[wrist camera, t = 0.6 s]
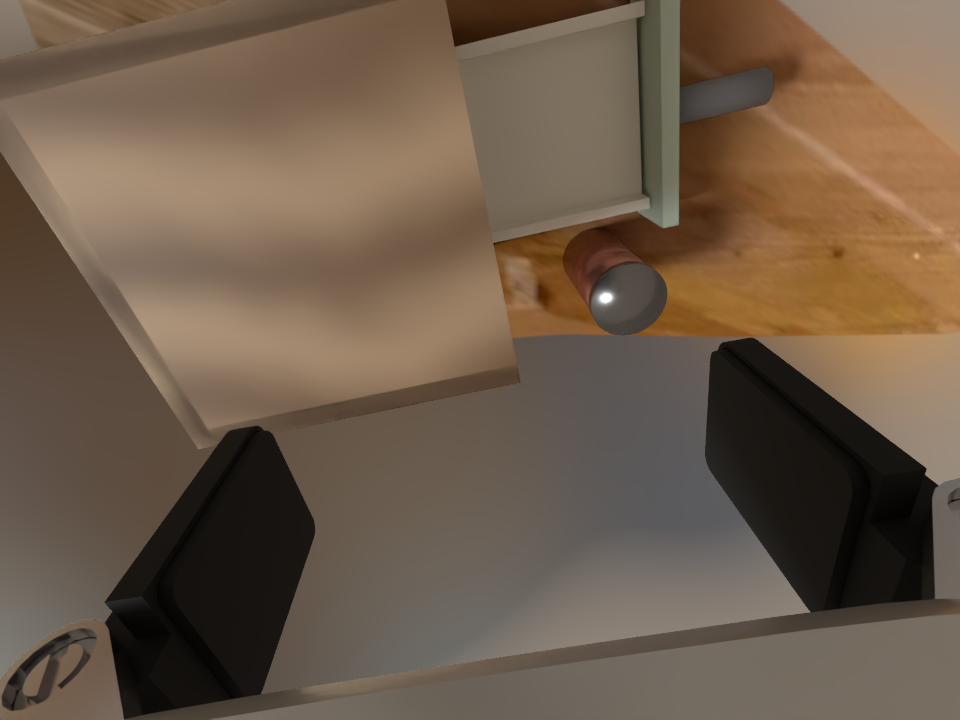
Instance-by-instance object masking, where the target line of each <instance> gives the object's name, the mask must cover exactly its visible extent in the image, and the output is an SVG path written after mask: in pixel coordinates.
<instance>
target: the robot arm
mask: <svg viewBox="0 0 960 720" xmlns="http://www.w3.org/2000/svg"><path fill="white" fill-rule="evenodd" d="M705 457H706V462H707V465H708V467H709V469H710V471H711V473H712V474H713V475H714V477H715V478H716V480H717V481H718V482H719V484H720V485H721V487H722V488H723V490H724V491H725V492H726V494H727V495H728V497H729V498H730V500H731V501H732V502H733V504H734V505H735V507H736V508H737V509H738V511H739V512H740V514H741V515H742V516H743V518H744V519H745V521H746V522H747V524H748V525H749V526H750V527H751V529H752V531H753V532H754V533H755V535H756V536H757V538H758V539H759V541H760V542H761V543H762V545H763V546H764V548H765V549H766V550H767V552H768V553H769V554H770V556H771V557H772V559H773V560H774V562H775V563H776V564H777V566H778V567H779V569H780V570H781V572H782V573H783V574H784V576H785V577H786V579H787V580H788V581H789V583H790V584H791V586H792V587H793V589H794V590H795V591H796V593H797V594H798V596H799V597H800V598H801V599H802V601H803V603H804V604H805V606H806V607H807V608H808V609H809V610H810V612H811V613H803V614H795V615H787V616H779V617H772V618H764V619H757V620H750V621H744V622H737V623H730V624H724V625H716V626H709V627H703V628H696V629H690V630H682V631H675V632H668V633H661V634H654V635H647V636H640V637H633V638H627V639H620V640H613V641H607V642H599V643H593V644H586V645H579V646H572V647H566V648H560V649H552V650H546V651H539V652H533V653H526V654H520V655H513V656H506V657H499V658H493V659H486V660H480V661H473V662H467V663H460V664H453V665H447V666H440V667H434V668H427V669H420V670H414V671H407V672H401V673H394V674H388V675H382V676H375V677H369V678H363V679H356V680H350V681H343V682H337V683H331V684H324V685H319V686H311V687H305V688H299V689H293V690H286V691H280V692H274V693H267V694H261V692H262V690H263V687H264V684H265V680H266V678H267V675H268V672H269V669H270V666H271V663H272V660H273V657H274V654H275V651H276V648H277V645H278V642H279V639H280V636H281V634H282V630H283V628H284V624H285V621H286V619H287V616H288V613H289V610H290V607H291V604H292V601H293V598H294V595H295V592H296V589H297V586H298V583H299V580H300V577H301V574H302V571H303V568H304V565H305V562H306V559H307V556H308V554H309V551H310V548H311V545H312V542H313V539H314V535H315V524H314V520H313V517H312V515H311V513H310V511H309V509H308V507H307V505H306V503H305V501H304V499H303V496H302V495H301V492H300V490H299V488H298V486H297V484H296V482H295V480H294V478H293V476H292V474H291V471H290V470H289V467H288V466H287V463H286V461H285V459H284V457H283V455H282V453H281V451H280V449H279V447H278V445H277V442H276V440H275V438H274V436H273V435H272V433H271V432H270V431H267V430H266V431H264V429H263V428H261V427H260V426H257V425H256V426H251V427H245V428H239V429H234V430H230V431H228V432H227V433H226V435H225V436H224V437H223V439H222V440H221V441H220V443H219V444H218V446H217V447H216V448H215V450H214V451H213V453H212V454H211V455H210V457H209V458H208V460H207V461H206V462H205V464H204V465H203V467H202V468H201V469H200V471H199V472H198V473H197V475H196V477H195V478H194V479H193V480H192V482H191V483H190V485H189V486H188V487H187V489H186V490H185V491H184V493H183V494H182V496H181V497H180V498H179V500H178V501H177V503H176V504H175V506H174V507H173V508H172V510H171V511H170V512H169V514H168V515H167V516H166V518H165V519H164V521H163V522H162V523H161V525H160V526H159V527H158V529H157V530H156V532H155V533H154V535H153V536H152V537H151V539H150V540H149V541H148V543H147V544H146V546H145V547H144V548H143V550H142V551H141V553H140V554H139V555H138V557H137V558H136V559H135V561H134V562H133V564H132V565H131V566H130V568H129V569H128V571H127V572H126V573H125V575H124V576H123V577H122V579H121V580H120V582H119V583H118V585H117V586H116V587H115V589H114V590H113V591H112V593H111V594H110V596H109V597H108V598H107V600H106V601H105V603H106V605H107V606H108V607H109V608H110V609H111V610H112V611H113V612H112V613H111V615H110V616H109V618H108V619H107V621H106V622H103V621H100V620H98V619H86V620H81V621H77V622H75V623H72V624H69V625H66V626H64V627H63V628H61V629H59V630H57V631H55V632H53V633H51V634H49V635H48V636H47V637H45V638H44V639H42V640H41V641H40V642H38V643H37V644H36V645H34V646H32V647H31V648H30V649H29V650H28V651H27V652H26V653H25V654H23V655H22V656H21V657H20V658H19V659H18V660H17V661H16V662H15V663H14V664H13V665H12V666H11V667H10V668H9V670H8V671H7V672H6V673H5V674H4V675H3V677H2V678H1V679H0V720H960V478H959V479H955V480H950V481H946V482H944V483H942V484H941V485H939V486H938V485H937V484H936V483H935V482H933V481H932V480H931V479H929V478H928V477H927V476H926V475H925V472H926V468H925V467H924V466H923V465H921V464H920V463H919V462H917V461H916V460H915V459H913V458H912V457H911V456H909V455H908V454H907V453H905V452H904V451H903V450H902V449H900V448H899V447H898V446H896V445H895V444H894V443H892V442H891V441H889V440H888V439H887V438H886V437H884V436H883V435H882V434H880V433H879V432H878V431H876V430H875V429H874V428H872V427H871V426H870V425H868V424H867V423H866V422H865V421H863V420H862V419H861V418H859V417H858V416H856V415H855V414H854V413H853V412H851V411H850V410H849V409H847V408H846V407H845V406H843V405H842V404H841V403H839V402H838V401H837V400H835V399H834V398H833V397H831V396H830V395H829V394H827V393H826V392H825V391H824V390H822V389H821V388H820V387H818V386H817V385H816V384H814V383H813V382H812V381H810V380H809V379H807V378H806V377H805V376H804V375H802V374H801V373H800V372H799V371H797V370H796V369H794V368H793V367H792V366H791V365H789V364H788V363H786V362H785V361H784V360H783V359H781V358H780V357H779V356H777V355H776V354H774V353H773V352H772V351H771V350H769V349H768V348H767V347H765V346H764V345H763V344H761V343H760V342H759V341H758V340H756V339H754V338H745V339H740V340H735V341H728V342H723V343H721V345H720V346H719V349H718V351H714V352H712V354H711V358H710V375H709V392H708V411H707V429H706V446H705Z"/></svg>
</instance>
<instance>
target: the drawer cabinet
mask: <svg viewBox="0 0 960 720" xmlns="http://www.w3.org/2000/svg"><path fill="white" fill-rule="evenodd" d="M0 152H1V153H2V155H3V156H4V158H5V159H6V161H7V162H8V164H9V165H10V167H11V168H12V170H13V171H14V173H15V174H16V176H17V177H18V179H19V180H20V182H21V183H22V185H23V186H24V188H25V189H26V191H27V192H28V194H29V195H30V196H31V198H32V200H33V201H34V203H35V204H36V206H37V207H38V209H39V210H40V212H41V213H42V215H43V216H44V218H45V219H46V221H47V222H48V224H49V225H50V227H51V228H52V230H53V231H54V233H55V234H56V236H57V237H58V239H59V240H60V242H61V243H62V245H63V246H64V248H65V249H66V251H67V252H68V254H69V255H70V257H71V258H72V260H73V261H74V263H75V264H76V266H77V267H78V269H79V270H80V272H81V273H82V275H83V276H84V278H85V279H86V281H87V282H88V284H89V285H90V287H91V288H92V290H93V291H94V293H95V294H96V296H97V297H98V299H99V300H100V302H101V303H102V305H103V306H104V308H105V309H106V311H107V312H108V314H109V315H110V317H111V318H112V320H113V321H114V323H115V324H116V326H117V328H118V329H119V331H120V332H121V333H122V335H123V336H124V338H125V340H126V341H127V343H128V344H129V346H130V347H131V349H132V350H133V351H134V353H135V355H136V356H137V358H138V359H139V360H140V362H141V363H142V365H143V367H144V368H145V369H146V371H147V373H148V374H149V375H150V377H151V379H152V380H153V381H154V383H155V385H156V386H157V388H158V389H159V391H160V392H161V394H162V395H163V397H164V398H165V400H166V401H167V403H168V404H169V406H170V407H171V409H172V410H173V412H174V413H175V415H176V416H177V418H178V419H179V421H180V422H181V424H182V425H183V427H184V428H185V430H186V431H187V432H188V434H189V436H190V437H191V439H192V440H193V442H194V443H195V445H196V446H197V448H198V449H201V448H206V447H211V446H215V445H218V444H219V443H220V441H221V440H222V439H223V437H224V436H225V435H226V433H227V432H228V431H230V430H234V429H239V428H245V427H251V426H256V425H257V426H260V427H261V428H263V429H264V431H266V430H267V431H270V432H271V433H272V434H274V433H279V432H283V431H288V430H293V429H298V428H303V427H307V426H313V425H317V424H322V423H327V422H332V421H337V420H342V419H346V418H351V417H356V416H361V415H366V414H371V413H375V412H380V411H385V410H390V409H395V408H400V407H404V406H409V405H414V404H418V403H424V402H428V401H433V400H438V399H443V398H448V397H453V396H458V395H462V394H467V393H472V392H477V391H482V390H486V389H491V388H496V387H501V386H506V385H511V384H516V383H520V377H519V372H518V367H517V362H516V357H515V352H514V346H513V342H512V336H511V331H510V326H509V321H508V316H507V311H506V306H505V301H504V295H503V290H502V285H501V280H500V275H499V270H498V265H497V260H496V255H495V250H494V244H493V239H492V234H491V229H490V224H489V219H488V214H487V209H486V204H485V199H484V194H483V188H482V183H481V178H480V173H479V168H478V163H477V158H476V153H475V148H474V143H473V137H472V132H471V127H470V122H469V117H468V112H467V107H466V102H465V97H464V92H463V86H462V81H461V76H460V71H459V66H458V61H457V56H456V51H455V46H454V41H453V35H452V30H451V25H450V20H449V15H448V10H447V5H446V0H230V1H226V2H222V3H218V4H214V5H210V6H206V7H203V8H199V9H195V10H191V11H187V12H183V13H179V14H175V15H172V16H168V17H164V18H160V19H156V20H152V21H148V22H144V23H140V24H137V25H133V26H129V27H125V28H121V29H117V30H113V31H109V32H106V33H102V34H98V35H94V36H90V37H86V38H82V39H78V40H75V41H71V42H67V43H63V44H59V45H55V46H51V47H47V48H43V49H40V50H36V51H32V52H28V53H24V54H20V55H16V56H13V57H9V58H5V59H1V60H0Z"/></svg>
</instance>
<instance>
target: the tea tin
mask: <svg viewBox="0 0 960 720" xmlns="http://www.w3.org/2000/svg"><path fill="white" fill-rule="evenodd" d="M563 265H564V269H565V272H566V274H567V275H568V277H569V278H570V280H571V281H572V283H573V285H574V286H575V288H576V289H577V291H578V292H579V294H580V295H581V297H582V299H583V300H584V302H585V303H586V305H587V306H588V308H589V309H590V312H591V315H592V316H593V318H594V320H595V321H596V323H597V324H598V325H599V326H600V327H601V328H602V329H603V330H605V331H606V332H608V333H611V334H614V335H631V334H635V333H638V332H640V331H642V330H644V329H646V328H647V327H649V326H650V325H651V324H653V323H654V322H655V321H656V320H657V318H658V317H659V316H660V314H661V313H662V311H663V309H664V307H665V304H666V300H667V287H666V284H665V281H664V279H663V278H662V276H661V275H660V274H659V273H658V272H657V271H656V270H654V269H653V268H652V267H651V266H649V265H647V264H645V263H644V262H643V261H642V260H641V259H640V258H639V257H637V256H636V255H635V254H634V253H633V252H632V251H631V250H629V249H628V248H627V247H626V246H625V245H624V244H623V243H621V242H620V241H619V240H618V239H617V238H616V237H615V236H613V235H612V234H611V233H609V232H608V231H605V230H602V229H589V230H585V231H583V232H581V233H579V234H578V235H576V236H575V237H574V238H573V239H572V240H571V241H570V242H569V244H568V245H567V247H566V249H565V252H564V256H563Z"/></svg>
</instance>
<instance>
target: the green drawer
mask: <svg viewBox="0 0 960 720" xmlns="http://www.w3.org/2000/svg"><path fill="white" fill-rule="evenodd" d="M455 51H456V56H457V61H458V66H459V71H460V76H461V81H462V86H463V92H464V97H465V102H466V107H467V112H468V117H469V122H470V127H471V132H472V137H473V143H474V148H475V153H476V158H477V163H478V168H479V173H480V178H481V183H482V188H483V194H484V199H485V204H486V209H487V214H488V219H489V224H490V229H491V234H492V239H493V243H496V242H500V241H505V240H509V239H514V238H518V237H523V236H527V235H532V234H536V233H541V232H545V231H550V230H554V229H558V228H563V227H567V226H572V225H576V224H581V223H585V222H590V221H594V220H599V219H603V218H608V217H612V216H617V215H621V214H626V213H630V212H635V211H638V213H640V214H641V215H643V216H644V217H646V218H648V219H649V220H651V221H652V222H654V223H655V224H657V225H658V226H660V227H662V228H667V227H671V226H676V225H679V124H683V123H687V122H692V121H696V120H700V119H705V118H709V117H713V116H718V115H722V114H726V113H730V112H735V111H739V110H743V109H748V108H752V107H756V106H761V105H765V104H766V103H767V102H768V101H769V100H770V98H771V96H772V93H773V89H774V76H773V73H772V71H771V69H770V68H769V67H761V68H757V69H753V70H749V71H744V72H740V73H736V74H732V75H727V76H723V77H719V78H715V79H710V80H706V81H702V82H698V83H693V84H689V85H685V86H681V87H680V0H630V4H627V5H623V6H619V7H615V8H611V9H607V10H602V11H598V12H594V13H590V14H586V15H582V16H578V17H574V18H570V19H566V20H562V21H558V22H554V23H550V24H546V25H541V26H537V27H533V28H529V29H525V30H521V31H517V32H513V33H509V34H505V35H501V36H497V37H493V38H489V39H485V40H480V41H476V42H472V43H468V44H464V45H460V46H456V47H455Z"/></svg>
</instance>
